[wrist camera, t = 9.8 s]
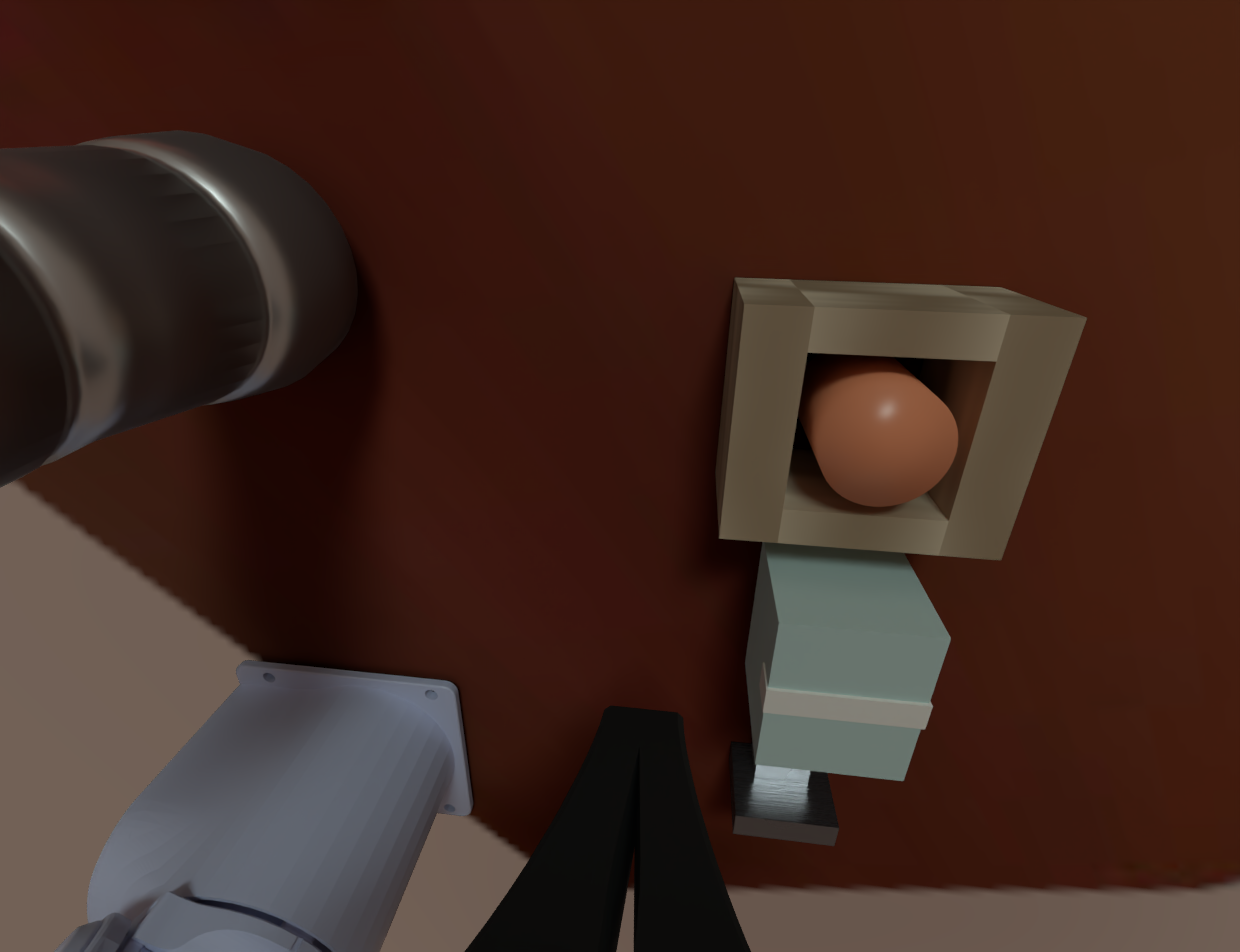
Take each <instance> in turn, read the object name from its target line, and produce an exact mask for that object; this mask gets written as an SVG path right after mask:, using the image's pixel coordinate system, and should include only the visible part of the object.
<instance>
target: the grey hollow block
mask: <svg viewBox="0 0 1240 952" xmlns="http://www.w3.org/2000/svg"><path fill="white" fill-rule="evenodd" d="M1086 319H1087V318H1086V317H1083V316H1081V315H1078V314H1075V313H1072V312H1069V311H1066V310H1064V309H1061V308H1058V307H1055V306H1052V305H1049V304H1047V303H1044V302H1041V301H1038V300H1035V299H1033V298H1030V297H1027V296H1024V295H1021V294H1018V293H1016V292H1013V291H1010V290H1007V289H1004V288H1001V287H980V286H952V285H924V284H897V283H869V282H841V281H814V280H786V279H758V278H734V288H733V298H732V308H731V318H730V328H729V338H728V349H727V359H726V369H725V379H724V389H723V400H722V410H721V420H720V430H719V440H718V450H717V461H716V471H715V476H716V493H717V510H718V527H719V539H731V540H744V541H757V542H770V543H783V544H796V545H809V546H822V547H835V548H848V549H861V550H874V551H887V552H900V553H913V554H926V555H939V556H952V557H965V558H978V559H991V560H1001V559H1002V556H1003V553H1004V550H1005V548H1006V545H1007V542H1008V539H1009V536H1010V533H1011V531H1012V528H1013V525H1014V522H1015V519H1016V517H1017V514H1018V511H1019V508H1020V505H1021V502H1022V500H1023V497H1024V494H1025V491H1026V488H1027V486H1028V483H1029V480H1030V477H1031V474H1032V471H1033V469H1034V466H1035V463H1036V460H1037V457H1038V455H1039V452H1040V449H1041V446H1042V443H1043V440H1044V438H1045V435H1046V432H1047V429H1048V426H1049V424H1050V421H1051V418H1052V415H1053V412H1054V409H1055V407H1056V404H1057V401H1058V398H1059V395H1060V393H1061V390H1062V387H1063V384H1064V381H1065V378H1066V376H1067V373H1068V370H1069V367H1070V364H1071V362H1072V359H1073V356H1074V353H1075V350H1076V347H1077V345H1078V342H1079V339H1080V336H1081V333H1082V331H1083V328H1084V325H1085V322H1086ZM807 353H826V354H847V355H868V356H889V357H910V358H924V360H923V364H922V368H921V372H920V376H919V381H920V382H922V383H923V384H924V385H925V386H926V387H927V388H928V389H929V390H930V391H931V392H933V393H934V394H935V395H936V396H937V397H938V398H939V399H940V400H941V401H942V402H943V403H944V404H945V405H946V406H947V407H948V408H949V410H950V411H951V413H952V414H953V417H954V419H955V421H956V425H957V429H958V447H957V452H956V455H955V458H954V460H953V463H952V464H951V466H950V468H949V470H948V471H947V473H946V474H945V476H944V477H943V478H942V479H941V480H940V481H939V482H938V483H937V484H936V485H935V486H934V487H933V488H932V489H930V490H929V491H927V492H926V493H925V494H923V495H921V496H919V497H917V498H915V499H913V500H911V501H908V502H905V503H902V504H898V505H893V506H886V507H872V506H865V505H861V504H857V503H854V502H852V501H849V500H847V499H846V498H844V497H842V496H841V495H839V494H838V493H837V492H836V491H835V490H834V489H833V488H832V487H831V486H830V485H829V484H828V482H827V481H826V479H825V477H824V476H823V473H822V471H821V469H820V466H819V464H818V462H817V459H816V457H815V455H814V452H813V450H808V449H792V448H793V442H794V436H795V429H796V423H797V417H798V410H799V404H800V397H801V391H802V385H803V378H804V372H805V366H806V359H807Z"/></svg>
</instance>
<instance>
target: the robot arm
mask: <svg viewBox="0 0 1240 952" xmlns="http://www.w3.org/2000/svg"><path fill="white" fill-rule="evenodd" d="M236 674H237V677H238V680H239V683H240V685H239V686H238V687H237V688H236V689H235V690H234V692H233V693H232V694H231V695H230V696H229V697H228V698H227V699H226V701H224V703H223V704H222V705H221V706H220V707H219V708H218V709H217V710H216V711H215V713H214V714H213V715H212V716H211V717H210V718H209V719H208V720H207V722H206V723H205V724H204V725H203V726H202V727H201V728H200V729H199V730H198V731H197V732H196V733H195V734H194V736H193V737H192V738H191V739H190V740H189V741H188V742H187V743H186V745H185V746H184V747H183V748H182V749H181V750H180V751H179V752H178V753H177V754H176V756H175V757H174V758H173V759H172V760H171V761H170V762H169V763H168V764H167V766H165V768H164V769H163V770H162V771H161V772H160V773H159V774H158V775H157V776H156V777H155V779H154V780H153V781H152V782H151V783H150V784H149V785H148V786H147V787H146V788H145V790H144V791H143V792H142V793H141V794H140V795H139V796H138V797H137V798H136V799H135V801H134V802H133V803H132V804H131V806H130V807H129V808H128V809H127V811H126V812H125V813H124V815H123V816H122V818H121V819H120V821H119V822H118V824H117V825H116V827H115V828H114V830H113V832H112V833H111V835H110V837H109V839H108V841H107V842H106V844H105V847H104V848H103V850H102V852H101V855H100V857H99V859H98V862H97V864H96V866H95V869H94V871H93V874H92V878H91V881H90V885H89V890H88V899H87V916H88V924H86V925H83V926H80V927H78V928H77V929H75V930H74V931H73V932H72V933H71V934H70V935H69V936H68V937H67V938H66V939H65V940H64V941H63V942H62V943H61V944H60V946H59V947H58V948H57V949H56V950H55V951H54V952H380V949H381V947H382V945H383V942H384V940H385V937H386V935H387V933H388V930H389V928H390V925H391V923H392V921H393V918H394V916H395V913H396V911H397V908H398V906H399V903H400V901H401V899H402V896H403V894H404V891H405V889H406V886H407V884H408V882H409V879H410V877H411V875H412V872H413V870H414V867H415V865H416V862H417V860H418V857H419V855H420V852H421V850H422V848H423V845H424V843H425V841H426V838H427V836H428V833H429V831H430V829H431V826H432V823H433V821H434V819H435V816H436V814H437V813H442V814H449V815H457V816H466V815H469V814H470V813H471V810H472V807H473V798H472V790H471V783H470V775H469V768H468V760H467V753H466V745H465V738H464V730H463V723H462V715H461V708H460V700H459V693H458V689H457V687H456V686H455V685H454V684H453V683H451V682H449V681H445V680H435V679H426V678H416V677H406V676H397V675H387V674H377V673H368V672H358V671H348V670H339V669H329V668H319V667H310V666H300V665H290V664H281V663H271V662H262V661H252V660H245V661H243V662H242V663H241V664H240V665H239V666H238V667H237V669H236ZM431 690H432V691H431ZM433 691H434V692H433ZM634 847H635V871H634V952H751V951H750V948H749V946H748V944H747V941H746V939H745V937H744V934H743V932H742V929H741V927H740V924H739V922H738V919H737V917H736V914H735V911H734V909H733V906H732V903H731V901H730V898H729V895H728V893H727V890H726V887H725V884H724V881H723V878H722V876H721V873H720V870H719V867H718V864H717V861H716V858H715V855H714V852H713V849H712V846H711V843H710V840H709V837H708V833H707V830H706V827H705V823H704V820H703V816H702V813H701V810H700V806H699V803H698V799H697V795H696V791H695V787H694V783H693V779H692V774H691V770H690V765H689V760H688V755H687V750H686V743H685V736H684V726H683V717H682V716H680V715H679V714H678V713H676V712H667V711H657V710H648V709H638V708H629V707H619V706H609V707H608V708H606V709H605V710H604V713H603V716H602V719H601V722H600V725H599V728H598V730H597V733H596V736H595V738H594V741H593V743H592V745H591V747H590V750H589V752H588V754H587V756H586V758H585V760H584V763H583V765H582V767H581V769H580V771H579V773H578V775H577V777H576V779H575V781H574V783H573V784H572V786H571V788H570V790H569V792H568V794H567V796H566V798H565V800H564V801H563V803H562V805H561V807H560V809H559V811H558V813H557V814H556V816H555V818H554V820H553V821H552V823H551V825H550V826H549V828H548V830H547V831H546V833H545V834H544V836H543V838H542V839H541V841H540V843H539V844H538V846H537V848H536V849H535V851H534V853H533V854H532V856H531V858H530V859H529V861H528V862H527V864H526V866H525V867H524V869H523V870H522V872H521V873H520V875H519V876H518V878H517V879H516V881H515V882H514V884H513V885H512V887H511V888H510V890H509V891H508V893H507V894H506V896H505V897H504V898H503V900H502V901H501V903H500V905H499V906H498V907H497V908H496V910H495V911H494V913H493V914H492V916H491V917H490V918H489V920H488V921H487V923H486V924H485V925H484V927H483V928H482V929H481V931H480V932H479V933H478V935H477V936H476V937H475V939H474V940H473V941H472V943H471V944H470V945H469V947H468V948H467V949H466V950H465V952H616V950H617V944H618V938H619V932H620V927H621V921H622V916H623V910H624V904H625V899H626V893H627V887H628V881H629V876H630V870H631V864H632V859H633V853H634Z"/></svg>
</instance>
